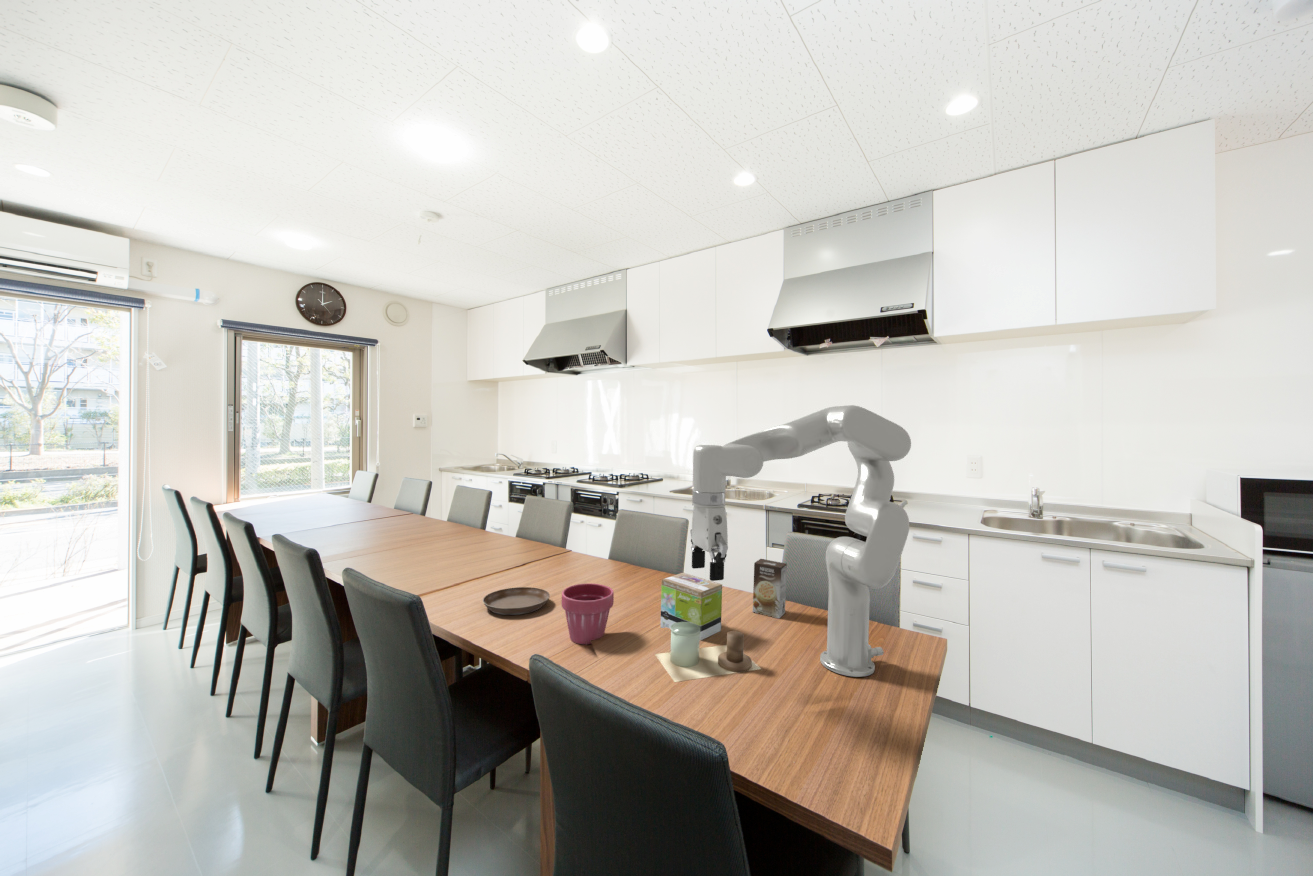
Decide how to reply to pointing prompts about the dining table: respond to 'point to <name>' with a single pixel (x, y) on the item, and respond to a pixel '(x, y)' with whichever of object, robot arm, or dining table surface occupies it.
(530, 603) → the plant saucer
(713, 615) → the tea box
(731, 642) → the lid
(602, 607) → the plant pot
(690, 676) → the board
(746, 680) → the dining table surface
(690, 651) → the jar
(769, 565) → the coffee box
